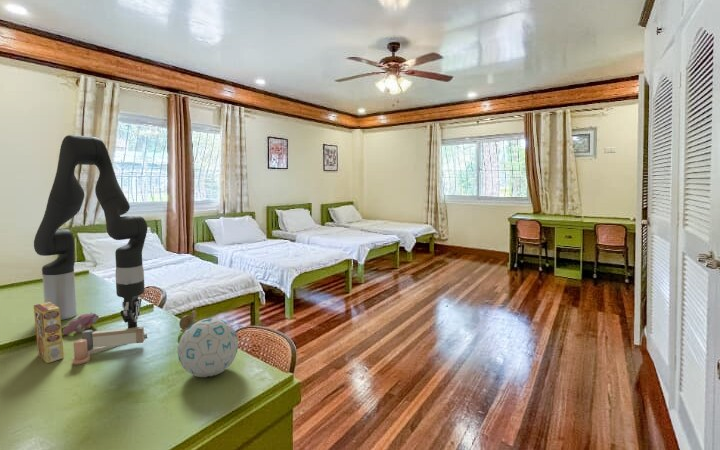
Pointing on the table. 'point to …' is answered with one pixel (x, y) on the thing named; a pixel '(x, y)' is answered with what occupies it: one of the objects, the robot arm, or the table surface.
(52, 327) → the candy box
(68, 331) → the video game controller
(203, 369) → the puzzle ball
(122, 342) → the beige wooden bar
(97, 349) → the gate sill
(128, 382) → the table surface
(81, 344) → the peach rounded knob
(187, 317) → the snail figurine
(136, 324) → the robot arm
